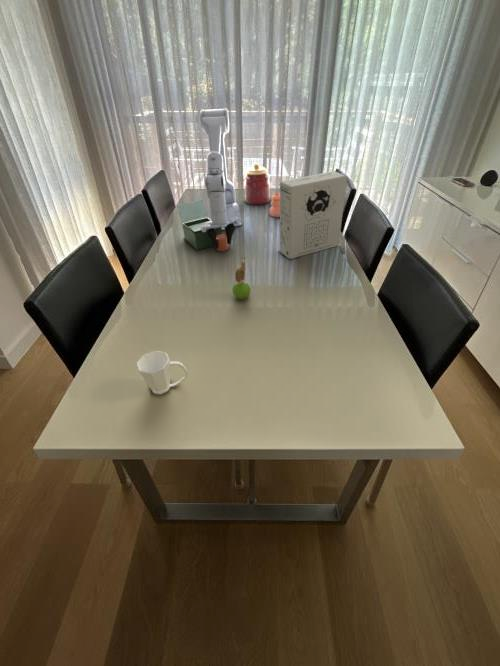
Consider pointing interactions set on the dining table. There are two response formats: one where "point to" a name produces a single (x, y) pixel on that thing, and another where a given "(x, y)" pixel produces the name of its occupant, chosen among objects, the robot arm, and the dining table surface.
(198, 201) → the pale green slab
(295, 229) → the cereal box
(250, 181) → the kitchen canister
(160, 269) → the dining table surface
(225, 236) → the pot
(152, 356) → the cup
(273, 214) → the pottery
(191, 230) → the box
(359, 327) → the dining table surface
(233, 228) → the robot arm
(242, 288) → the figurine on green ball
